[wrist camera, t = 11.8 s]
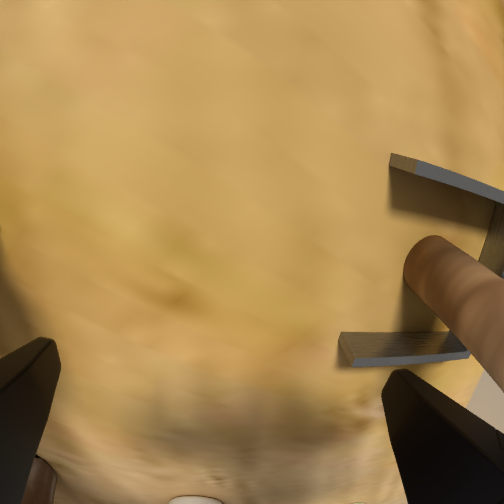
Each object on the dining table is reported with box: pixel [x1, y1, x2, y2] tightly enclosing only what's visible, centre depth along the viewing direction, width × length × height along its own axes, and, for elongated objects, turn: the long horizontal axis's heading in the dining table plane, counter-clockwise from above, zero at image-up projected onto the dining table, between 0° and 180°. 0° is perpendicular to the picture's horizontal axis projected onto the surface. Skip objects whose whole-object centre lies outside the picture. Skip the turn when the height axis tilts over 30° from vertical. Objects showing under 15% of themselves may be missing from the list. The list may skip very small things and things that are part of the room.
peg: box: [404, 235, 504, 392], centre depth 14 cm, size 4×4×14 cm
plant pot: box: [22, 457, 57, 504], centre depth 21 cm, size 16×16×16 cm
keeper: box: [338, 153, 504, 367], centre depth 18 cm, size 12×14×6 cm
